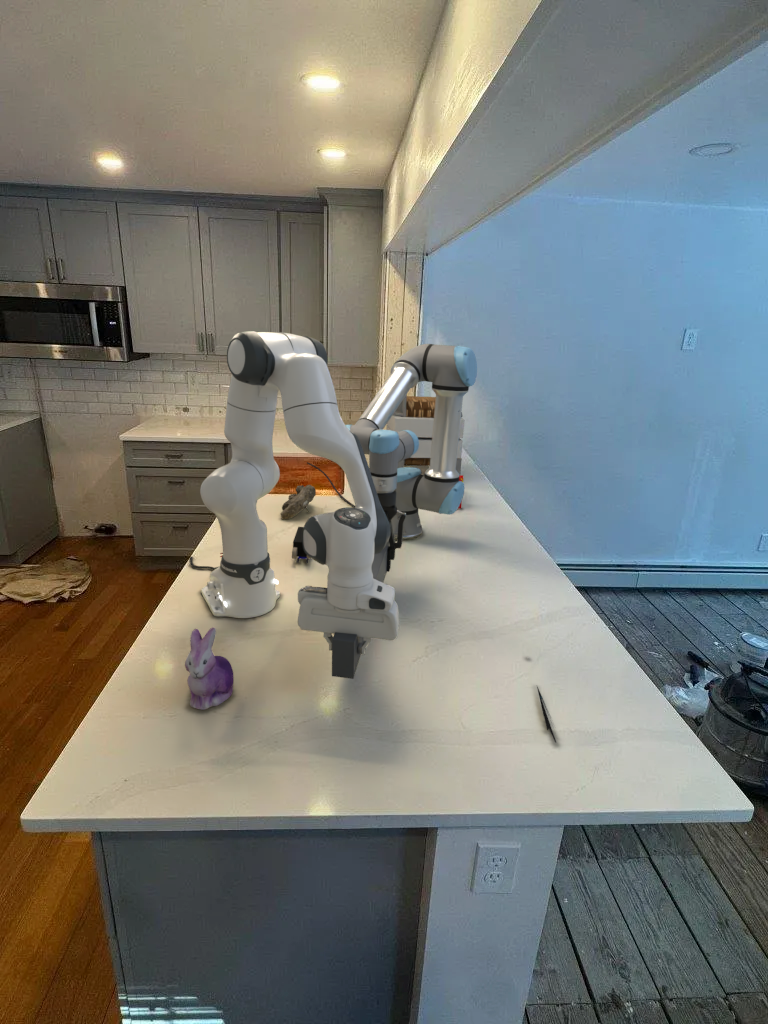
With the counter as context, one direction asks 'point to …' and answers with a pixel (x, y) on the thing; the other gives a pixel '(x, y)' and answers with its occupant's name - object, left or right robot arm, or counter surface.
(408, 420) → the white slatted crate
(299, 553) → the figurine character
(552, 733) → the feather
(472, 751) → the counter surface
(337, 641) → the beam
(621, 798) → the counter surface
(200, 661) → the figurine
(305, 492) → the fossil
